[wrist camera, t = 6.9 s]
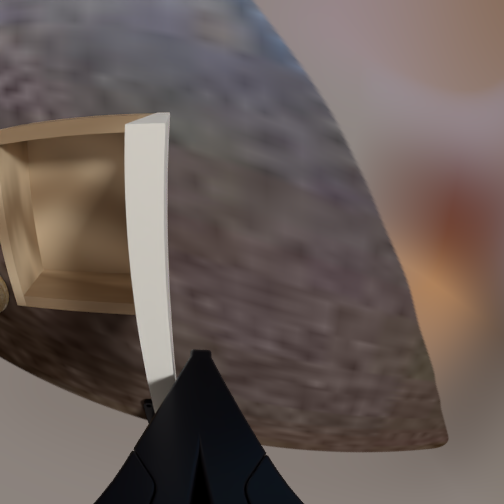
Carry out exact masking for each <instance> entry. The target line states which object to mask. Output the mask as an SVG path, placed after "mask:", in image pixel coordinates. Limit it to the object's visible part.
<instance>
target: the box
mask: <svg viewBox="0 0 504 504" xmlns="http://www.w3.org/2000/svg"><path fill="white" fill-rule="evenodd" d="M152 114H155V113H145V114H119V115H102V116H89V117H78V118H69V119H60V120H52V121H44V122H37V123H31V124H24V125H19V126H14V127H10V128H5V129H1V130H0V242H1V246H2V251H3V255H4V259H5V263H6V267H7V271H8V275H9V278H10V282H11V285H12V289H13V292H14V295H15V298H16V301H17V304H18V305H20V306H29V307H38V308H48V309H59V310H70V311H83V312H96V313H111V314H129V315H136V311H135V304H134V296H133V288H132V279H131V270H130V260H129V249H128V236H127V221H126V201H125V124H127V123H130V122H132V121H135V120H138V119H141V118H143V117H146V116H149V115H152Z"/></svg>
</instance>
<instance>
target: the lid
mask: <svg viewBox="0 0 504 504" xmlns="http://www.w3.org/2000/svg"><path fill="white" fill-rule="evenodd" d="M169 123H170V113H155V114H152V115H149V116H146V117H143V118H141V119H138V120H135V121H132V122H130V123H127V124H125V201H126V221H127V236H128V249H129V260H130V270H131V279H132V288H133V296H134V304H135V311H136V318H137V325H138V331H139V337H140V343H141V349H142V355H143V360H144V365H145V371H146V376H147V381H148V385H149V390H150V395H151V399H152V403H153V408H154V412H155V413H156V412H157V410H158V408H159V407H160V405H161V403H162V402H163V400H164V399H165V397H166V395H167V394H168V392H169V391H170V389H171V387H172V386H173V384H174V382H175V381H176V371H175V360H174V348H173V335H172V320H171V304H170V286H169V263H168V221H167V187H168V145H169Z"/></svg>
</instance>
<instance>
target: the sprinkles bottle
mask: <svg viewBox="0 0 504 504" xmlns="http://www.w3.org/2000/svg"><path fill="white" fill-rule="evenodd" d="M8 302H9V293H8V289H7V286H6V284H5V282H4V280H3V279H2V277H1V276H0V313H1V311H3V310H4V309H5V308H6V307H7V305H8Z"/></svg>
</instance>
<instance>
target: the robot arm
mask: <svg viewBox="0 0 504 504" xmlns="http://www.w3.org/2000/svg"><path fill="white" fill-rule="evenodd" d="M144 409H145V412H146V416H147V419H148V423H149V425H148V426H147V428H146V430H145V431H144V433H143V435H142V436H141V437H140V439H139V441H138V442H137V444H136V446H135V447H134V451H132V452H131V453H130V455H129V457H128V458H127V460H126V461H125V463H124V465H123V466H122V468H121V469H120V470H119V472H118V473H117V475H116V477H115V478H114V479H113V481H112V482H111V483H110V484H109V486H108V487H107V488H106V489H105V491H104V492H103V493H102V495H101V496H100V497H99V498H98V499H97V500H96V502H95V503H94V504H304V503H303V502H302V501H301V500H300V499H299V498H298V496H297V495H296V494H295V493H294V492H293V490H292V489H291V488H290V487H289V486H288V484H287V483H286V482H285V480H284V479H283V477H282V476H281V475H280V474H279V472H278V470H277V469H276V467H275V466H274V464H273V463H272V461H271V460H270V458H269V457H268V456H267V455H266V452H265V450H264V449H263V447H262V446H261V444H260V442H259V441H258V439H257V437H256V436H255V434H254V432H253V431H252V429H251V427H250V426H249V424H248V422H247V421H246V419H245V417H244V416H243V414H242V412H241V410H240V409H239V407H238V405H237V403H236V402H235V400H234V398H233V396H232V395H231V393H230V391H229V389H228V388H227V386H226V384H225V382H224V380H223V378H222V377H221V375H220V373H219V371H218V369H217V367H216V365H215V364H214V362H213V360H212V358H211V351H210V350H191V354H190V358H189V360H188V361H187V363H186V365H185V366H184V368H183V369H182V371H181V373H180V374H179V376H178V378H177V379H176V381H175V382H174V384H173V386H172V387H171V389H170V391H169V392H168V394H167V395H166V397H165V399H164V400H163V402H162V403H161V405H160V407H159V408H158V410H157V412H156V413H155V412H154V408H153V403H152V400H145V401H144Z"/></svg>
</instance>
